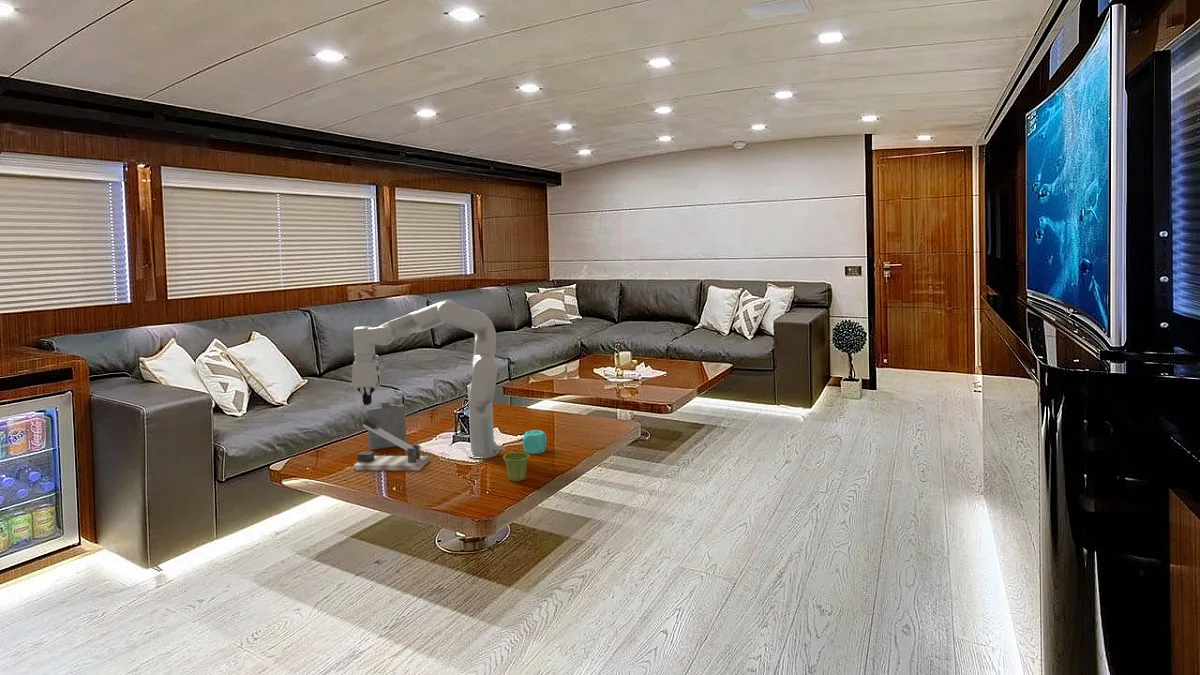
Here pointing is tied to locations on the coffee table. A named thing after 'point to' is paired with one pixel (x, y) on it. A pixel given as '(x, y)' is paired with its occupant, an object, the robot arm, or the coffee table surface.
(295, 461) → the coffee table surface
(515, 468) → the plant pot
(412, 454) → the base
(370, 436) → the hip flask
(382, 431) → the lever
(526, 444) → the decorative dice
